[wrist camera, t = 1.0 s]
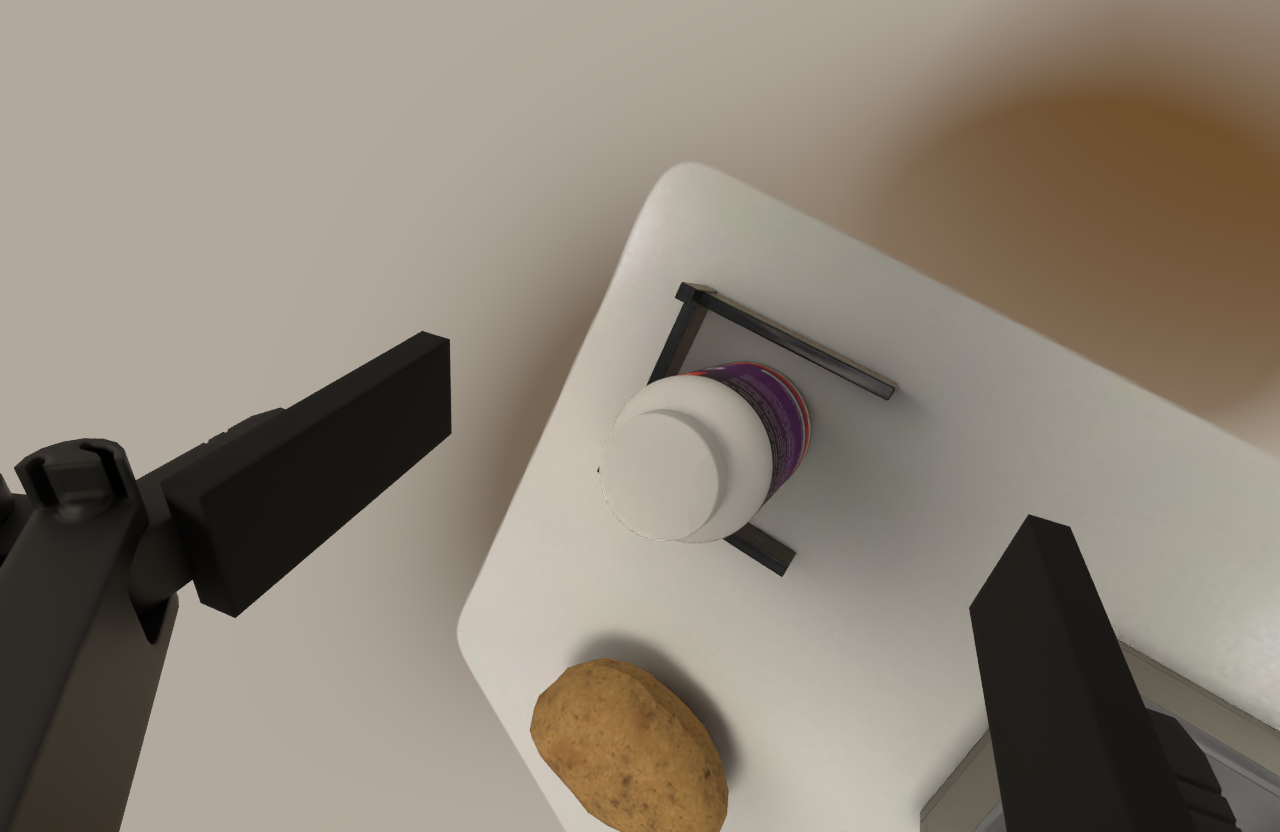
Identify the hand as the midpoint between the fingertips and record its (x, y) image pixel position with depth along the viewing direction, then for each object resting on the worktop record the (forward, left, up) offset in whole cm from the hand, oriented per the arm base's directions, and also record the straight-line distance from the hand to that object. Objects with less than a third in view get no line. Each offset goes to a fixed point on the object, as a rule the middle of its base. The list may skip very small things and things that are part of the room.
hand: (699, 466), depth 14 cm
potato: (+27, 0, -25) cm, 37 cm away
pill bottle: (+5, -4, -25) cm, 25 cm away
